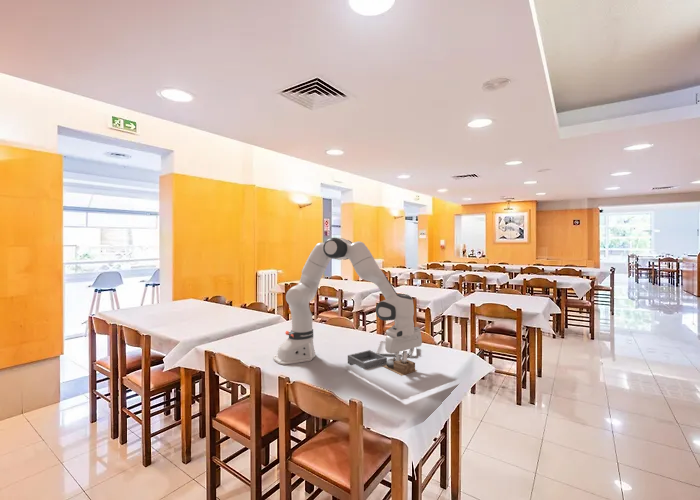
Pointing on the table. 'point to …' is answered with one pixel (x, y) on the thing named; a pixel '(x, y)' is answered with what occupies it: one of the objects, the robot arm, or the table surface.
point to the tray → (366, 359)
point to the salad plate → (383, 352)
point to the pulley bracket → (400, 366)
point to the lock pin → (404, 357)
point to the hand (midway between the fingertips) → (404, 358)
